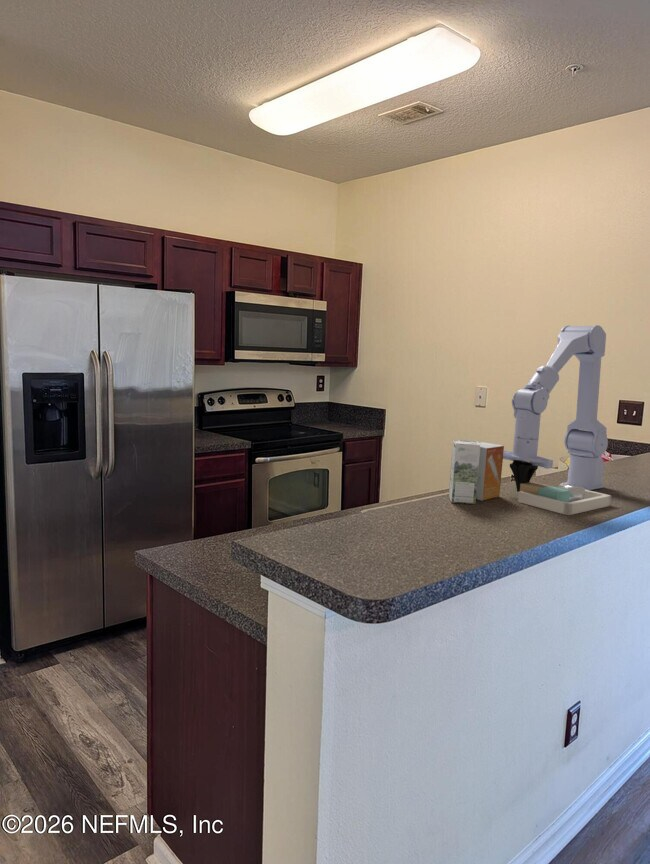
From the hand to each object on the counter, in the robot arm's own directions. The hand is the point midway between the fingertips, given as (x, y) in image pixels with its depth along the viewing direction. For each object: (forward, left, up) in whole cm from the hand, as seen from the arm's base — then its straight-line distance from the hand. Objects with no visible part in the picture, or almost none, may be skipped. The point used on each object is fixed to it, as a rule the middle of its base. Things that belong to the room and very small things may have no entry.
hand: (521, 491), depth 152 cm
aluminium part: (-8, +9, -2) cm, 12 cm away
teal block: (0, +9, -1) cm, 9 cm away
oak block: (0, +4, -1) cm, 4 cm away
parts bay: (-4, +9, -1) cm, 10 cm away
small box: (+9, -6, -2) cm, 10 cm away
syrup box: (+17, -5, -2) cm, 17 cm away
